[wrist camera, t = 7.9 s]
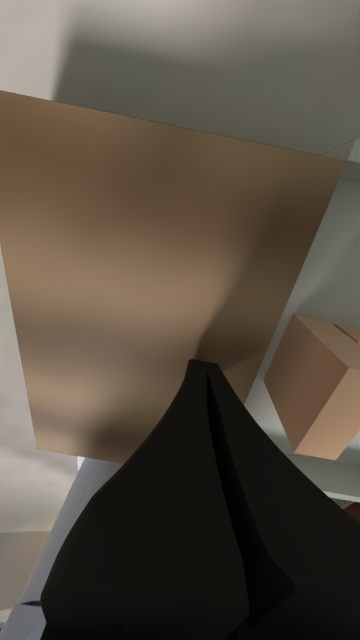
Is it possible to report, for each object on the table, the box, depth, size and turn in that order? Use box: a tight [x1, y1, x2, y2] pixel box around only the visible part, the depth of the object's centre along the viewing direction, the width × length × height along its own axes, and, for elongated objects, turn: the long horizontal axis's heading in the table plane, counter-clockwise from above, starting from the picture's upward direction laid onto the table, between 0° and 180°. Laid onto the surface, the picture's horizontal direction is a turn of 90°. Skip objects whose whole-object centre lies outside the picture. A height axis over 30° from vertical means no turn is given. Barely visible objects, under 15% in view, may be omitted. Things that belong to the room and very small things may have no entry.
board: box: [0, 90, 347, 464], centre depth 12 cm, size 18×12×4 cm, turn 170°
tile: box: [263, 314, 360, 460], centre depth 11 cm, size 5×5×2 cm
